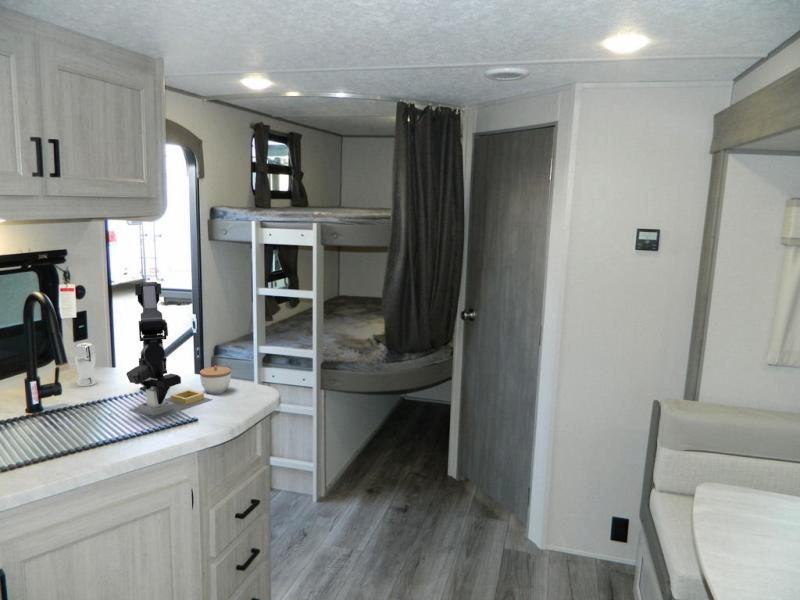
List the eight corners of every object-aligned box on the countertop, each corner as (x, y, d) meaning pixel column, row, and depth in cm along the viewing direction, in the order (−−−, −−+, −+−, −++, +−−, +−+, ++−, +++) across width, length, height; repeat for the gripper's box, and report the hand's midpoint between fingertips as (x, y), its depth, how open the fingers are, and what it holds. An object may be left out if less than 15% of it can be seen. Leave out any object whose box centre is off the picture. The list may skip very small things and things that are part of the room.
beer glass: (81, 381, 215) (78, 342, 213) (100, 380, 216) (98, 342, 213) (72, 386, 208) (69, 347, 206) (92, 386, 209) (90, 346, 206)
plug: (146, 410, 182) (145, 386, 181) (157, 407, 186) (156, 383, 184) (154, 413, 180) (153, 388, 179) (165, 409, 184) (164, 385, 182)
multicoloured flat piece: (129, 413, 182) (128, 404, 182) (186, 395, 201) (186, 386, 201) (156, 422, 175) (156, 412, 175) (213, 402, 194) (213, 394, 193)
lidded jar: (212, 397, 199) (211, 372, 197) (194, 391, 205) (193, 366, 204) (237, 390, 207) (236, 365, 206) (219, 384, 213) (219, 360, 212)
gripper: (112, 356, 178) (115, 404, 180) (149, 365, 169) (152, 415, 171) (144, 349, 187) (146, 394, 190) (181, 357, 178) (183, 405, 180)
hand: (156, 402), depth 183 cm, fingers closed on plug, 4 cm apart
